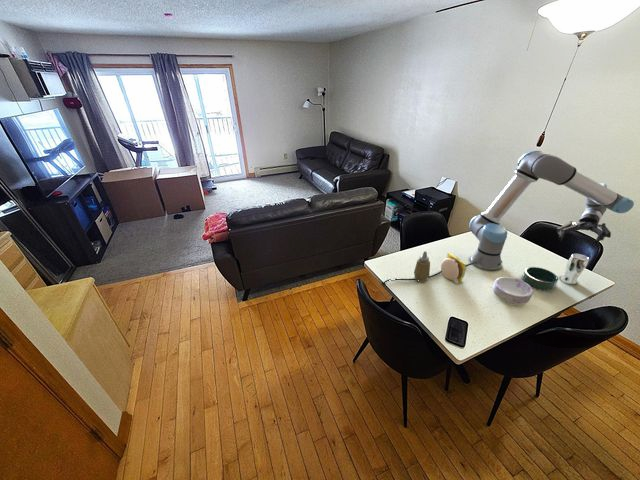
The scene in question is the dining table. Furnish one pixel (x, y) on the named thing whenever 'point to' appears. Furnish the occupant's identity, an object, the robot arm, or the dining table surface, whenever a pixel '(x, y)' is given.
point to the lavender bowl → (512, 290)
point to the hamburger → (453, 268)
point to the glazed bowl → (539, 278)
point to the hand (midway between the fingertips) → (577, 240)
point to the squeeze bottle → (422, 268)
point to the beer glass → (574, 268)
